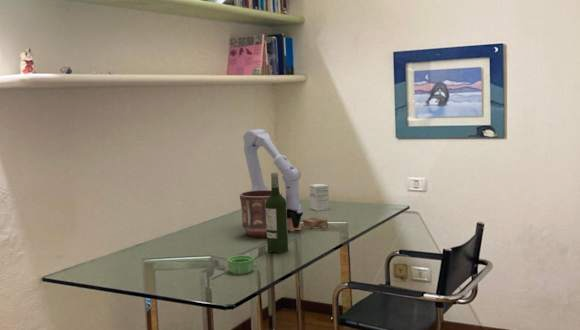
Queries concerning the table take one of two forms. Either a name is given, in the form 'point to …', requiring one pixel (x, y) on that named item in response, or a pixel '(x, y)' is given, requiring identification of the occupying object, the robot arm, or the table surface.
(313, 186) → the supplement box
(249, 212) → the pottery
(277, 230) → the wine bottle
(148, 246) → the table surface
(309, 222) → the walnut block
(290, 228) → the terracotta cube
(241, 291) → the table surface
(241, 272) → the ramekin
